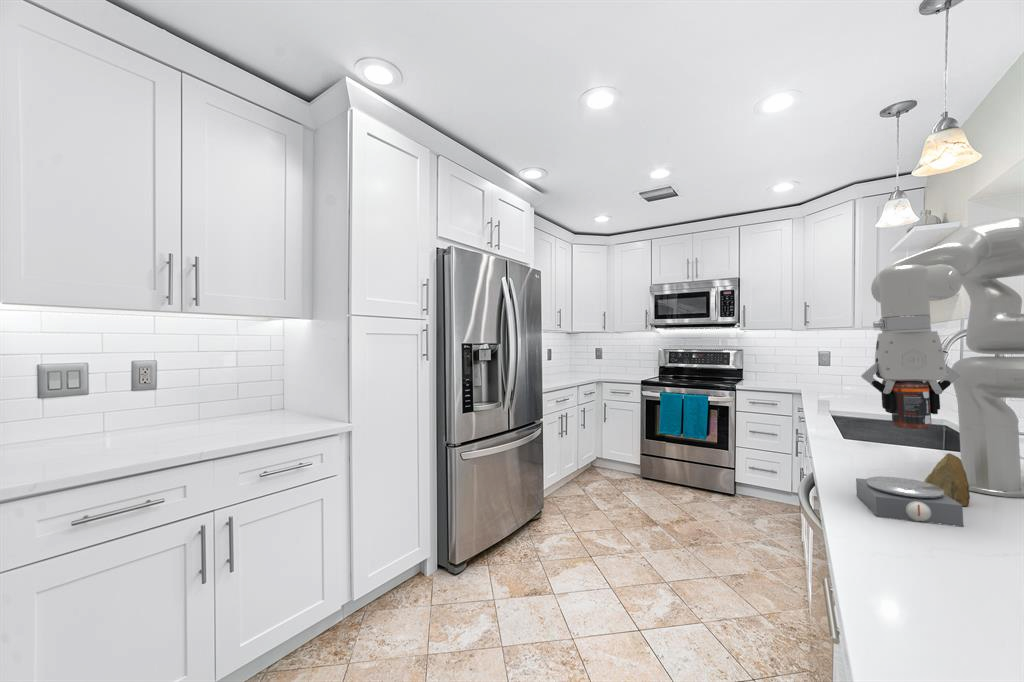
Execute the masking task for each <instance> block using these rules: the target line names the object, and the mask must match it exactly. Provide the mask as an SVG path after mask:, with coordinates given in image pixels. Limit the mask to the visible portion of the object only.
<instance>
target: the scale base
mask: <svg viewBox="0 0 1024 682" xmlns="http://www.w3.org/2000/svg"><path fill="white" fill-rule="evenodd" d="M867 479H868V478H860V477H859V478H857V477H856V478H855V483H856V484H855V487H856V497H858V498H859V500H860V501H861V502H862V503H863V504H864V505H865V506H866V507H867V508H868V509H869V510H870V511H871V513H872V514H874V515H875V516H876V518H885V519H886V518H887V519H893V520H902V519H903V521H910V520H912V521H911V522H913V521H914V522H919V521H922V522H921V523H927V522H933V523H932V524H936V523H941V524H940V525H944V524H947V525H946V526H953V525H955V527H961V528H962V527H963V528H964V511H963V507H964V506H963V505H961V504H959V503H958V502H956V501H955V500H953V499H952V498H950V497H948V496H947V495H945V494H944V496H942V497H938V498H918V497H909V496H902V495H897V494H892V493H887V492H883V491H880V490H877V489H874V488H872V487H870V486H868V485H867Z"/></svg>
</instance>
